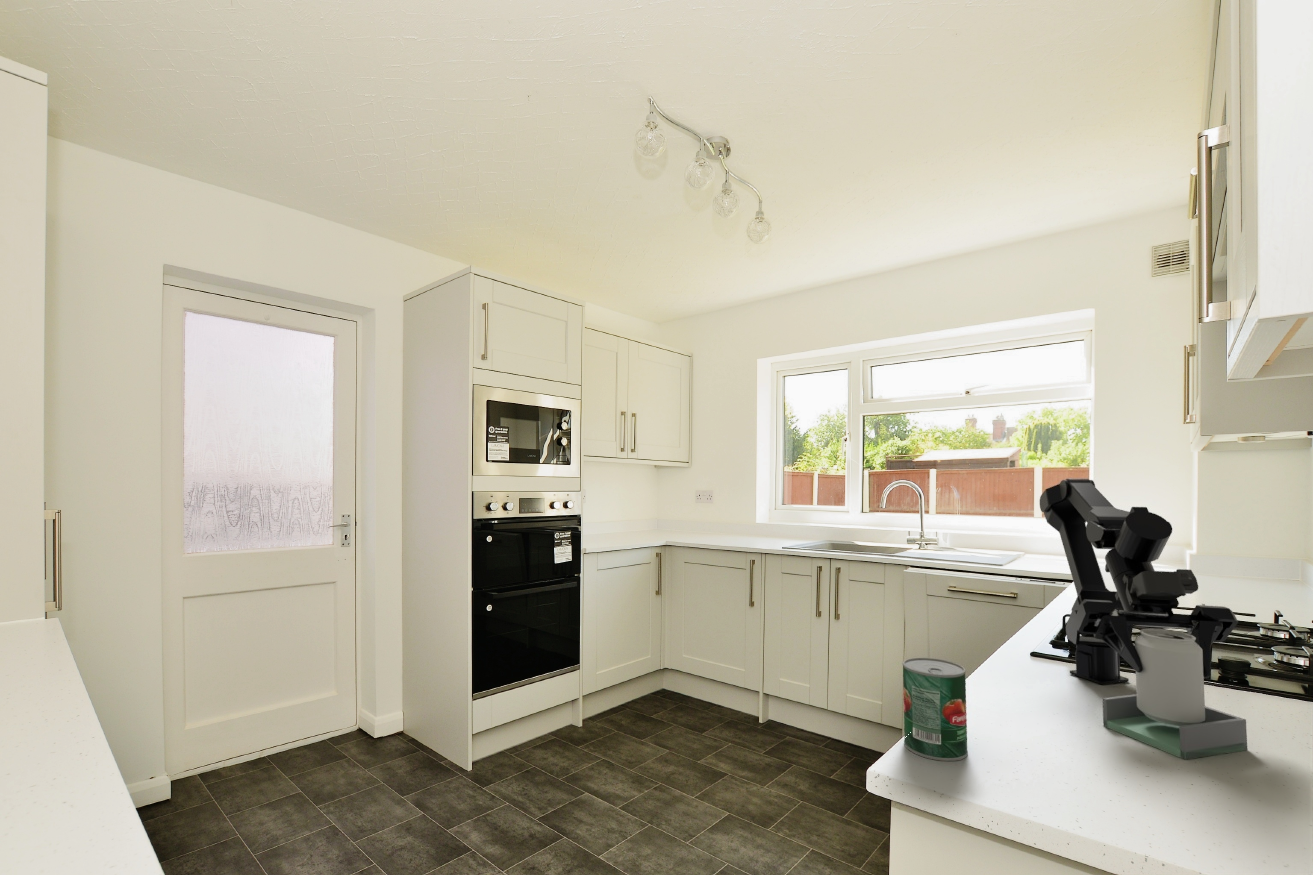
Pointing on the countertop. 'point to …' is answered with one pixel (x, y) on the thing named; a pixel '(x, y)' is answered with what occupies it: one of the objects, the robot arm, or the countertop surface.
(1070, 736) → the countertop surface
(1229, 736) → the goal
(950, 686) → the canned tomato
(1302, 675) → the countertop surface
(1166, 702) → the can
